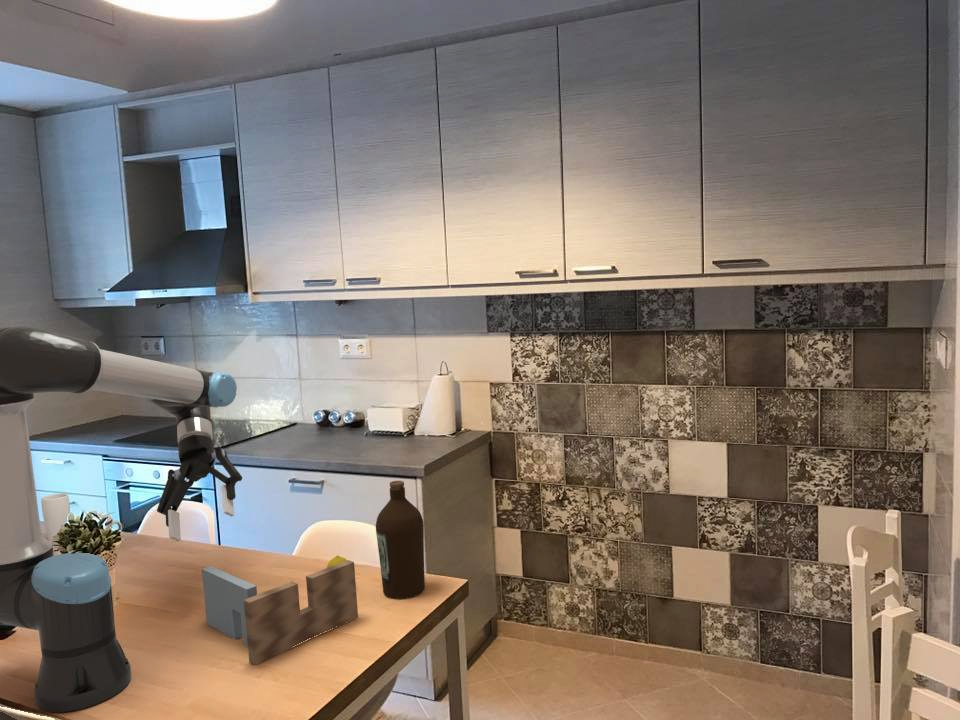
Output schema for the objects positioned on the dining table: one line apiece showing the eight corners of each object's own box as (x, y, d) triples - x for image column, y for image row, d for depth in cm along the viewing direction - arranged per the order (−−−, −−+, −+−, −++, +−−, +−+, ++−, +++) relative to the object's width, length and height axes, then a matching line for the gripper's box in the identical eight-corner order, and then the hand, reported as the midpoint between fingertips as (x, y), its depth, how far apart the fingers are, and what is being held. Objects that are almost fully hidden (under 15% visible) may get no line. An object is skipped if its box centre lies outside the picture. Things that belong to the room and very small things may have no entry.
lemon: (340, 596, 166) (338, 561, 165) (322, 591, 169) (319, 558, 168) (357, 587, 170) (354, 553, 170) (339, 583, 173) (336, 550, 173)
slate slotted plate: (207, 624, 155) (201, 568, 154) (216, 620, 157) (210, 565, 155) (252, 649, 143) (246, 589, 142) (261, 645, 145) (256, 585, 143)
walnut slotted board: (254, 665, 137) (249, 602, 136) (249, 661, 138) (243, 600, 137) (358, 617, 154) (354, 562, 153) (352, 615, 156) (348, 560, 154)
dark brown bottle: (421, 578, 173) (415, 473, 171) (432, 595, 163) (425, 484, 161) (376, 586, 170) (369, 479, 168) (384, 604, 160) (376, 491, 158)
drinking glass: (78, 545, 211) (73, 494, 209) (54, 553, 205) (48, 501, 204) (66, 542, 215) (60, 492, 213) (41, 550, 209) (35, 498, 207)
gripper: (252, 426, 170) (262, 508, 158) (161, 469, 174) (165, 553, 162) (231, 413, 164) (241, 498, 152) (138, 458, 168) (140, 544, 156)
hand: (201, 526), depth 157 cm, fingers open, 13 cm apart
